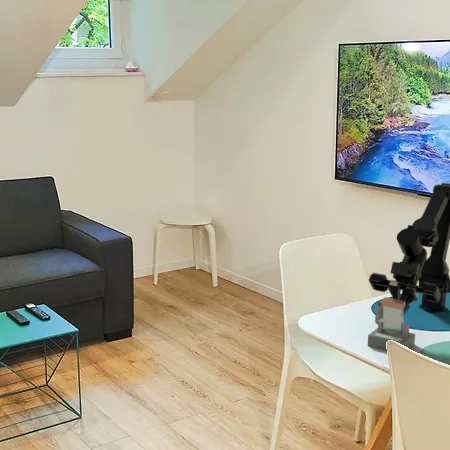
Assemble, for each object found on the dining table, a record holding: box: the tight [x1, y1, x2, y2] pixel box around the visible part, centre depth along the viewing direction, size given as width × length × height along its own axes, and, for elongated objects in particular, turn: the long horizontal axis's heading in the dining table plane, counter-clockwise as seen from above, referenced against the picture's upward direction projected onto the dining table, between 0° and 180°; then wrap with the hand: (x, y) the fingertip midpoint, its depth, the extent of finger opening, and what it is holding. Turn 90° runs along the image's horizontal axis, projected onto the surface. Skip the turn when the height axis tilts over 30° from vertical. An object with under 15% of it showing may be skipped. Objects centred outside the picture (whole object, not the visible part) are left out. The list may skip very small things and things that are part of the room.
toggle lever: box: [381, 296, 406, 333], centre depth 191 cm, size 2×6×9 cm, turn 55°
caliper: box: [374, 301, 408, 324], centre depth 215 cm, size 20×1×6 cm, turn 141°
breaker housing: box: [367, 319, 416, 351], centre depth 192 cm, size 8×10×6 cm
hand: (394, 314), depth 192 cm, fingers closed, pressing on toggle lever
